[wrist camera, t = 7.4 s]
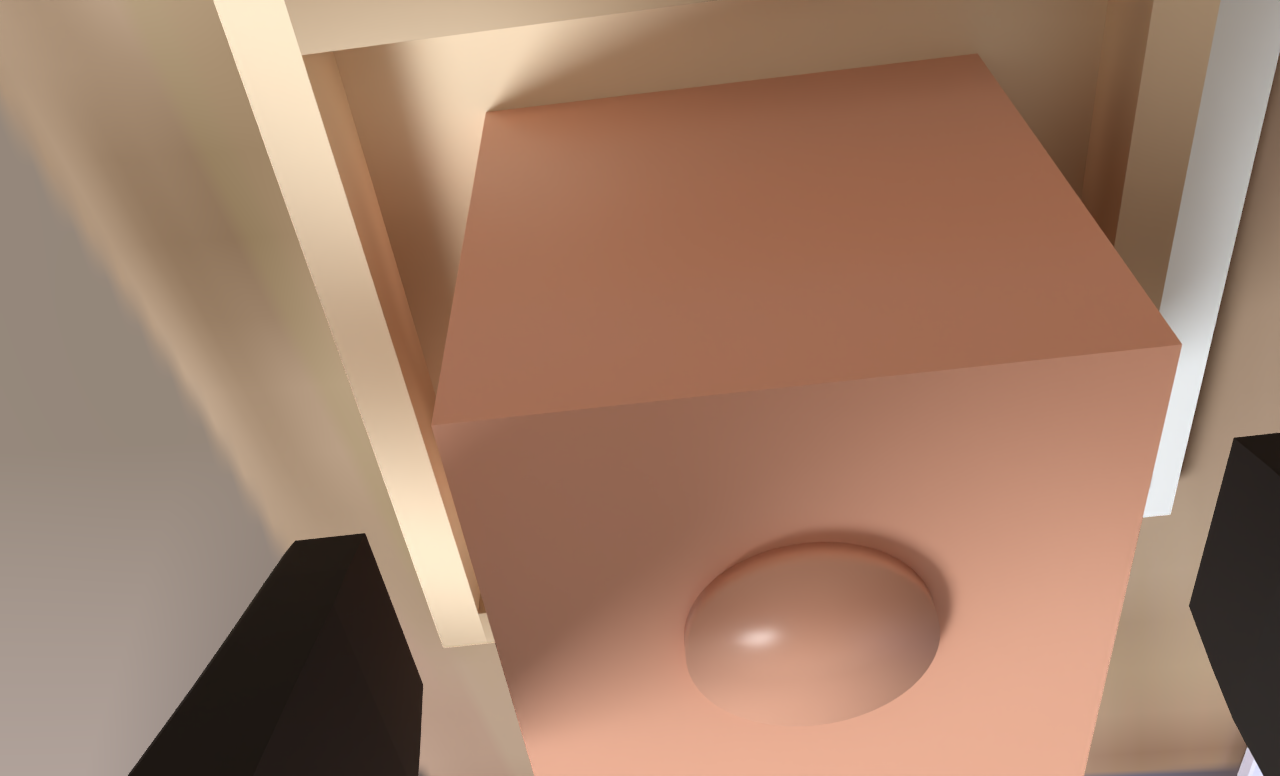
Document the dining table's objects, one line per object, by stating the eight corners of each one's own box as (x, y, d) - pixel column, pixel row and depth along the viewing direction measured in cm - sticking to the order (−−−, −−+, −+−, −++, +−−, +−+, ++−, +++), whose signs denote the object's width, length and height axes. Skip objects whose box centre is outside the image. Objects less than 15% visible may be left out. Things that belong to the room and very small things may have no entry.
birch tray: (1027, 413, 17) (1106, 578, 15) (465, 476, 18) (443, 648, 15) (1102, -222, 12) (1248, -143, 9) (293, -109, 12) (212, -4, 10)
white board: (1156, 490, 19) (1171, 516, 19) (466, 565, 20) (463, 594, 19) (1392, -576, 11) (1433, -578, 10) (168, -389, 11) (147, -383, 11)
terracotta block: (949, 431, 14) (1090, 797, 10) (561, 471, 15) (548, 847, 11) (977, 53, 11) (1196, 361, 7) (485, 112, 12) (428, 445, 7)
